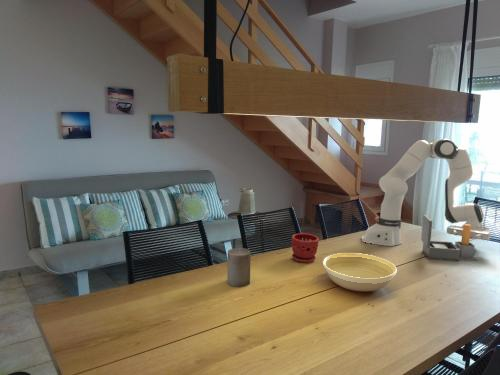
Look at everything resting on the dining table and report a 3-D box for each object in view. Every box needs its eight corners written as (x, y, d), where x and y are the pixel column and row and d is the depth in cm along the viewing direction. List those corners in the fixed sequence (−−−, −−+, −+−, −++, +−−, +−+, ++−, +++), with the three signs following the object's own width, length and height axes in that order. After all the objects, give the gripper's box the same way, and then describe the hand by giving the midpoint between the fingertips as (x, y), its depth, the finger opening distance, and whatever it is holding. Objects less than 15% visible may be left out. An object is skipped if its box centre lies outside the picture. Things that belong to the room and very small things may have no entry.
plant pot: (289, 263, 186) (290, 239, 185) (293, 254, 199) (293, 232, 197) (316, 265, 183) (317, 241, 182) (318, 257, 196) (319, 234, 194)
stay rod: (461, 255, 199) (464, 225, 197) (458, 253, 203) (462, 223, 200) (468, 256, 199) (472, 226, 196) (466, 254, 202) (469, 224, 200)
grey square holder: (456, 258, 197) (457, 245, 196) (450, 252, 207) (451, 240, 206) (477, 260, 195) (478, 247, 194) (470, 254, 205) (471, 241, 204)
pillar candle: (252, 279, 165) (253, 246, 163) (246, 288, 156) (247, 253, 153) (231, 277, 167) (231, 243, 165) (223, 285, 158) (224, 250, 156)
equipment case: (426, 258, 196) (429, 220, 193) (420, 250, 210) (423, 214, 207) (458, 261, 193) (462, 222, 190) (450, 252, 207) (453, 216, 204)
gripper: (450, 221, 215) (444, 226, 204) (492, 228, 202) (488, 233, 192) (448, 232, 216) (443, 237, 205) (491, 239, 203) (487, 245, 193)
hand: (465, 235), depth 198 cm, fingers open, 8 cm apart
